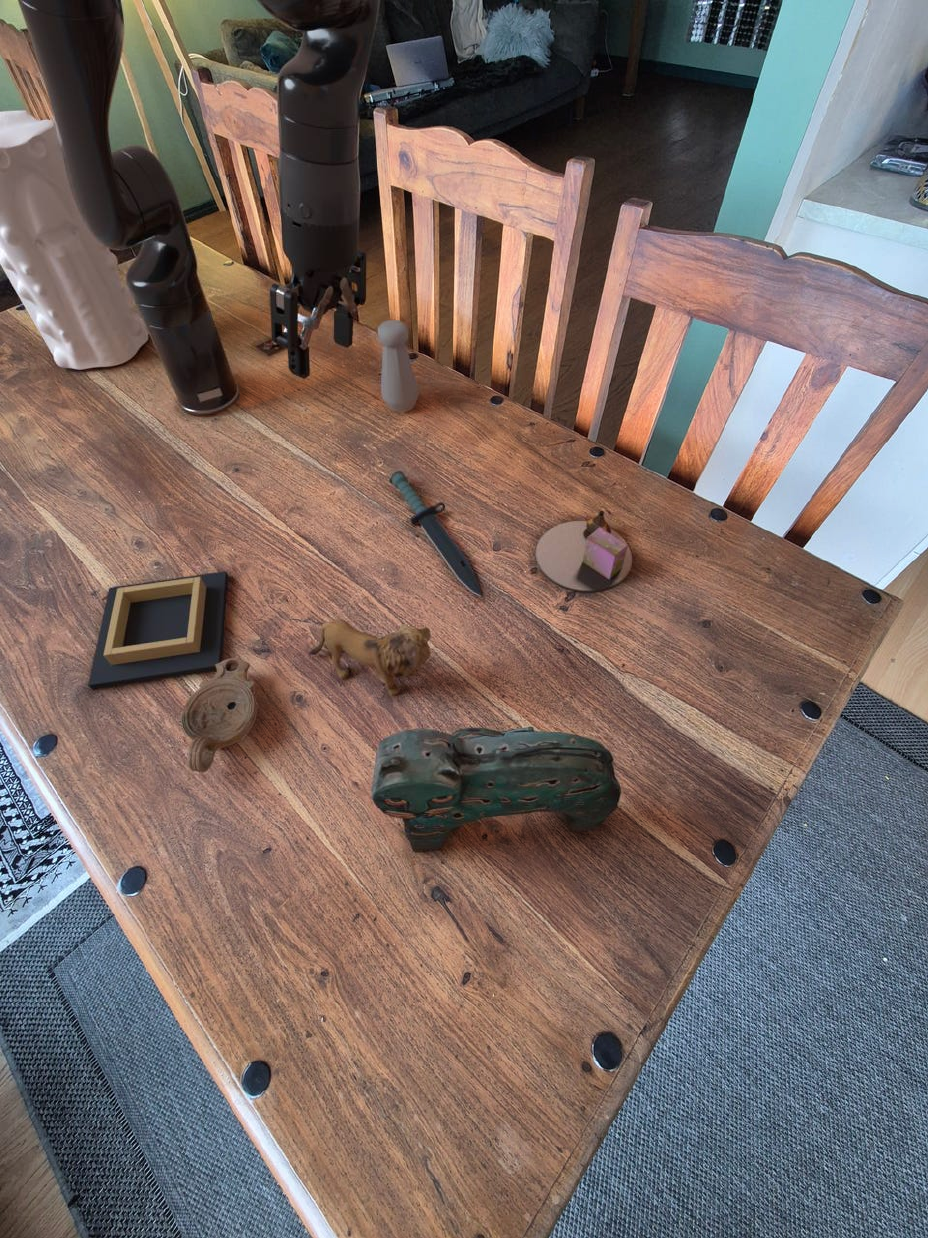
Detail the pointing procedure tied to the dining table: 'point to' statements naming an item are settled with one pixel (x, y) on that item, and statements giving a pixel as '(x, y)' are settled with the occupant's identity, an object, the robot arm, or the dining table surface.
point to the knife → (436, 532)
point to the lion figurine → (377, 650)
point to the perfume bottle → (584, 555)
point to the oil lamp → (219, 712)
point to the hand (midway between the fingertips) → (322, 359)
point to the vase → (59, 253)
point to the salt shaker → (396, 368)
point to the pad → (161, 630)
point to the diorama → (270, 347)
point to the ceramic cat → (490, 779)
